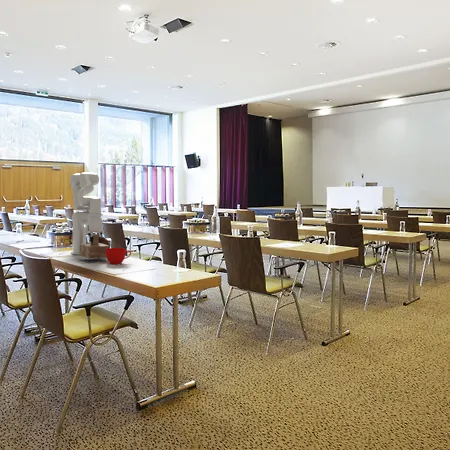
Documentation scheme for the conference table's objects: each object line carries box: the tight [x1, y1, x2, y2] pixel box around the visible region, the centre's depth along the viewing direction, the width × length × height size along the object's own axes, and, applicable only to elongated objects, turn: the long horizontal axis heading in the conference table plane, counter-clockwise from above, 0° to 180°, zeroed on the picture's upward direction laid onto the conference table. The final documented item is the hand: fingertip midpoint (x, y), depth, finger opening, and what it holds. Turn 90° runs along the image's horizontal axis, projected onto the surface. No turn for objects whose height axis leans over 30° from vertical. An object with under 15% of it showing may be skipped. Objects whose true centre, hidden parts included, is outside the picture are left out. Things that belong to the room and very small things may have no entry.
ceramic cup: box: [105, 247, 132, 265], centre depth 312 cm, size 13×17×10 cm
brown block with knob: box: [78, 233, 111, 259], centre depth 320 cm, size 15×15×15 cm
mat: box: [78, 257, 109, 264], centre depth 321 cm, size 17×17×1 cm
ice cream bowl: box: [99, 236, 111, 247], centre depth 340 cm, size 11×11×15 cm
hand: (94, 241), depth 320 cm, fingers closed on brown block with knob, 4 cm apart
